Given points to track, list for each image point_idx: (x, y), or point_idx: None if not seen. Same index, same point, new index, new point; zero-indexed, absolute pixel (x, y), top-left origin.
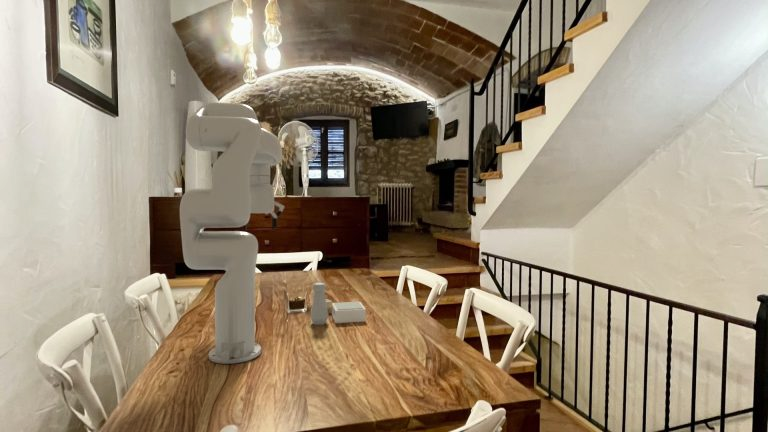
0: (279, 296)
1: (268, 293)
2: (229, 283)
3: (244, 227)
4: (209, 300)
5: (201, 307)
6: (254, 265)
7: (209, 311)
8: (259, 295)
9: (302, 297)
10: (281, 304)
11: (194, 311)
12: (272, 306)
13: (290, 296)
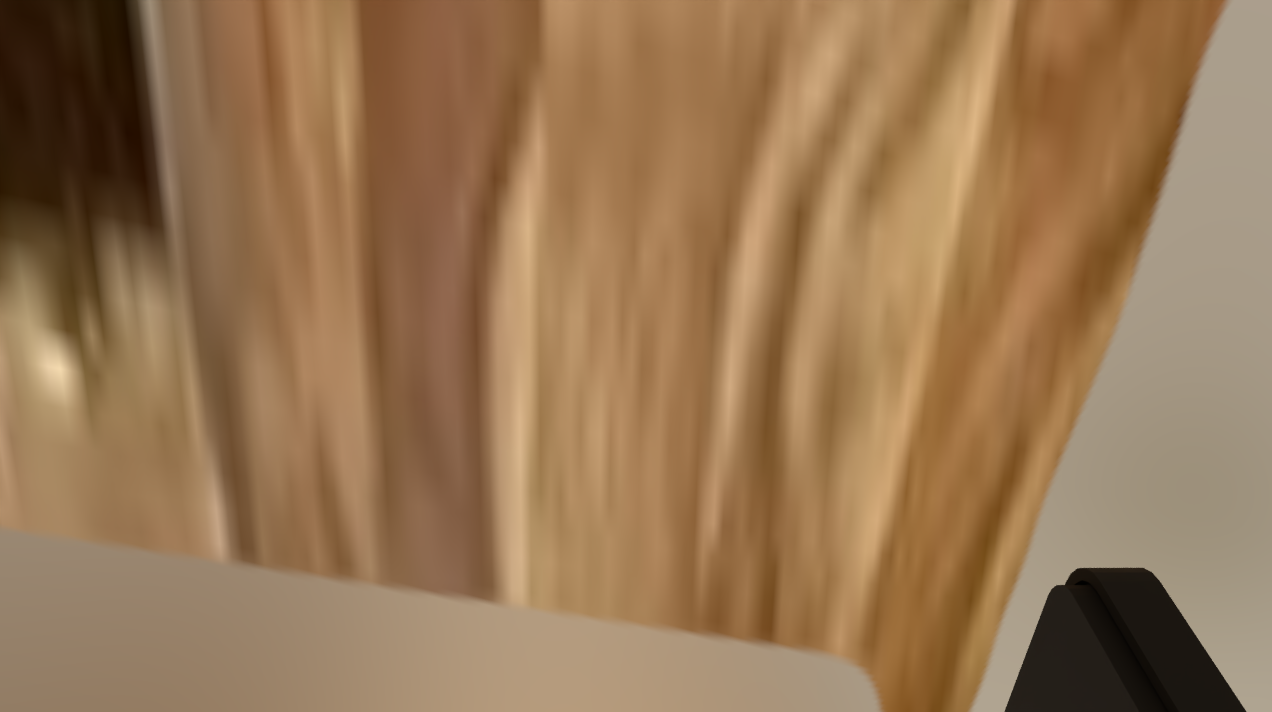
0: (299, 443)
1: (423, 569)
2: None
3: (1155, 624)
4: (985, 434)
5: (1088, 202)
6: None
7: (1037, 20)
8: (512, 516)
9: (23, 354)
10: (249, 109)
11: (1174, 63)
12: (353, 45)
13: (174, 420)
